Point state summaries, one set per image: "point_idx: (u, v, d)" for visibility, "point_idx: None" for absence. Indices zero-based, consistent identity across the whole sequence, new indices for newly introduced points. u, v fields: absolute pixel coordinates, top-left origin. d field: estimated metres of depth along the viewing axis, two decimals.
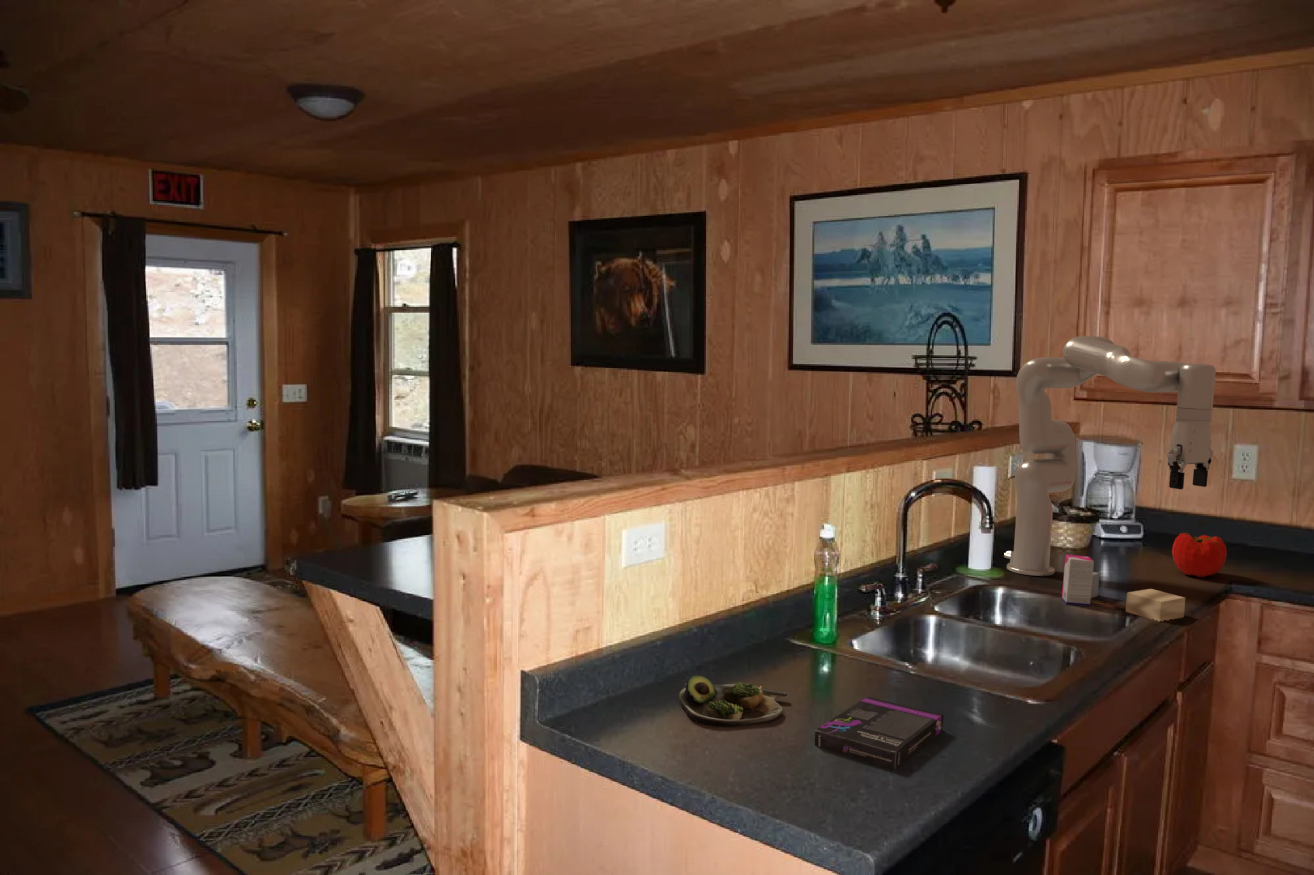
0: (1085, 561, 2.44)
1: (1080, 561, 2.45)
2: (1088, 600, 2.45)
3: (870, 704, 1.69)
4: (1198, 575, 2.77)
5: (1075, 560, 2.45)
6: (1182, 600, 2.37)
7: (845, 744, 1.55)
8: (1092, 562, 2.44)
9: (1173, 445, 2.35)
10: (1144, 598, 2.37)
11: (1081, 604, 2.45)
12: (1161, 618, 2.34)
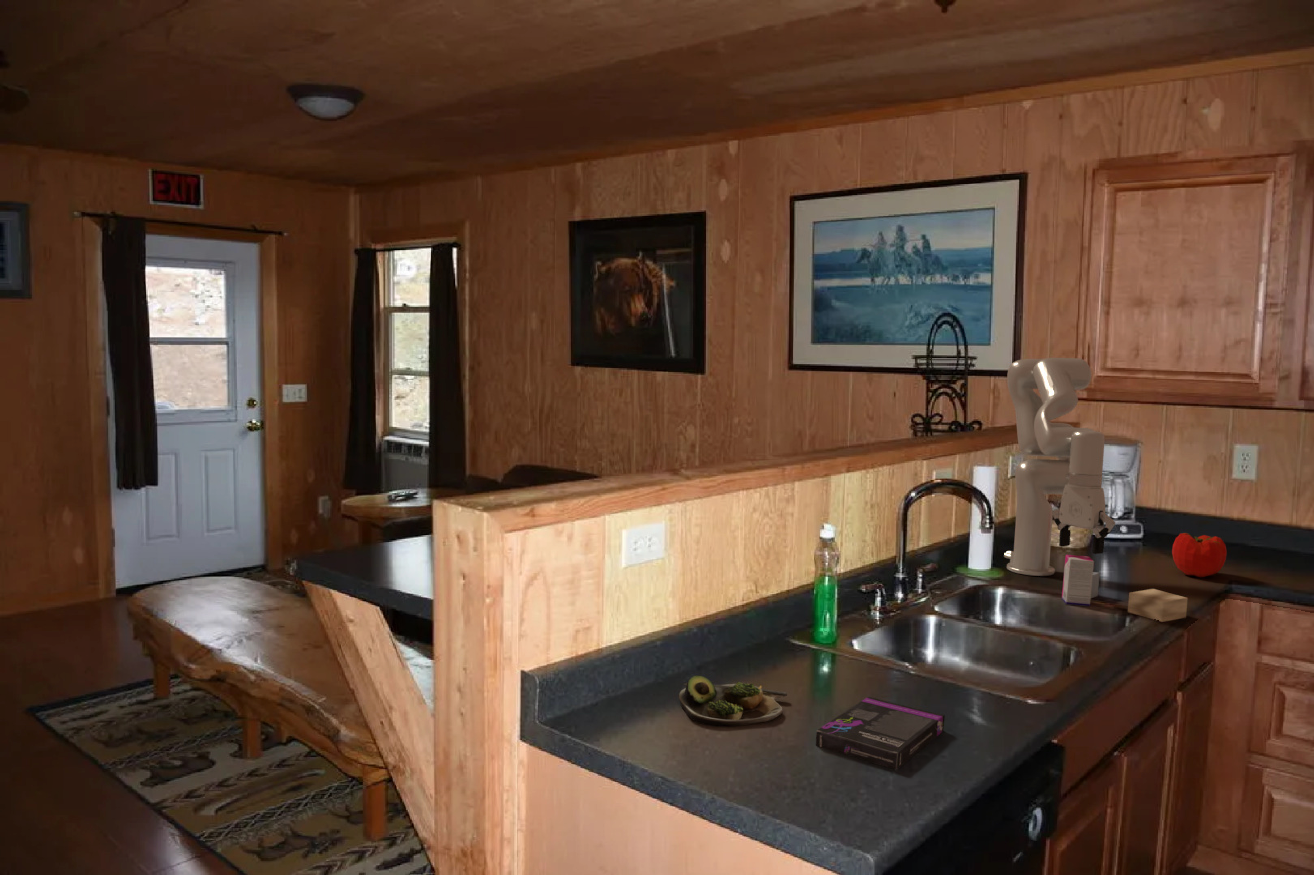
0: (1085, 561, 2.44)
1: (1080, 561, 2.45)
2: (1088, 600, 2.45)
3: (872, 704, 1.69)
4: (1198, 575, 2.77)
5: (1075, 560, 2.45)
6: (1184, 600, 2.37)
7: (846, 745, 1.55)
8: (1092, 562, 2.44)
9: (1097, 512, 2.40)
10: (1146, 598, 2.37)
11: (1081, 604, 2.45)
12: (1163, 618, 2.34)
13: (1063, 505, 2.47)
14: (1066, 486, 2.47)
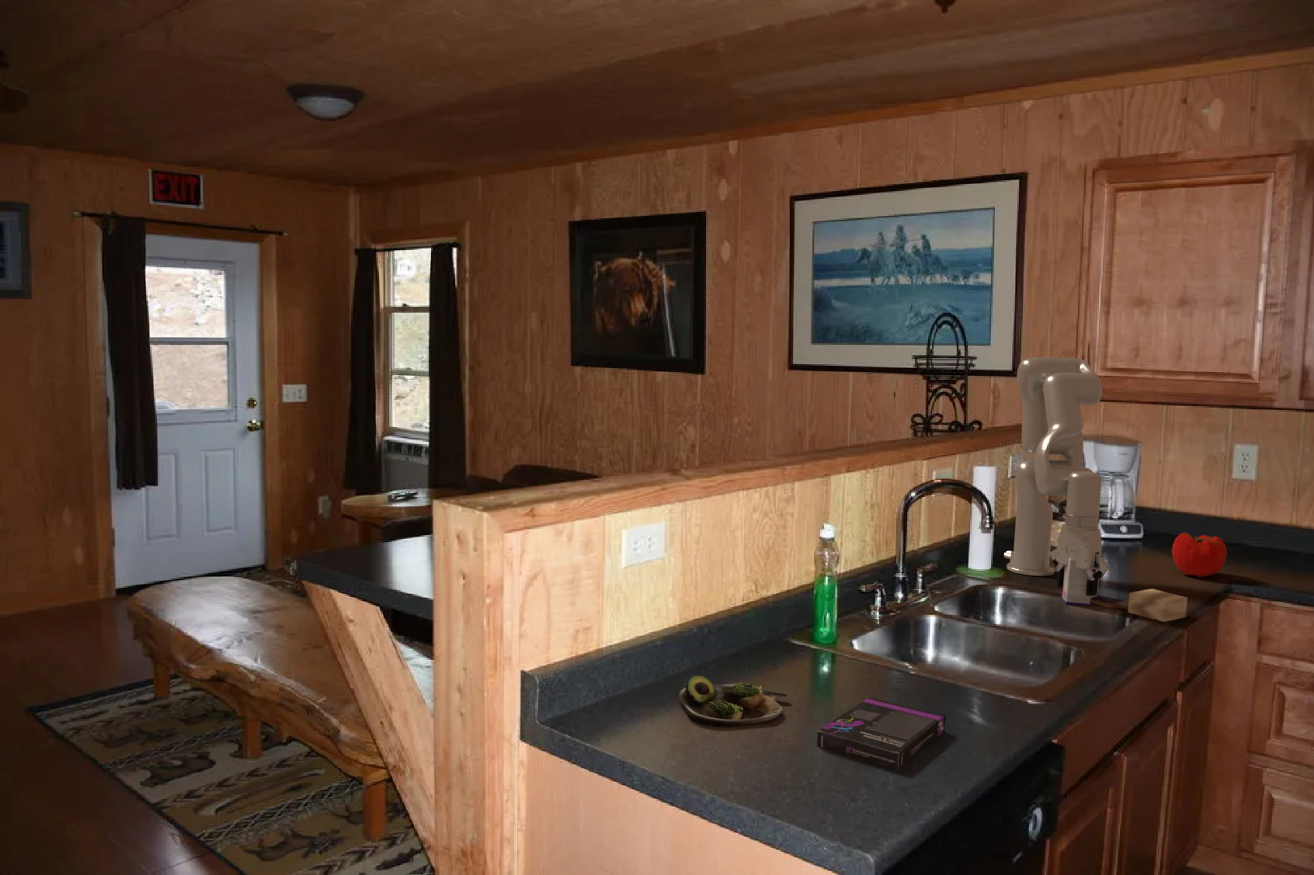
0: None
1: None
2: (1088, 600, 2.45)
3: (872, 705, 1.69)
4: (1198, 575, 2.77)
5: (1075, 560, 2.45)
6: (1184, 599, 2.37)
7: (847, 745, 1.55)
8: None
9: (1093, 554, 2.42)
10: (1147, 598, 2.37)
11: (1081, 604, 2.45)
12: (1165, 618, 2.34)
13: (1060, 545, 2.49)
14: (1063, 526, 2.48)
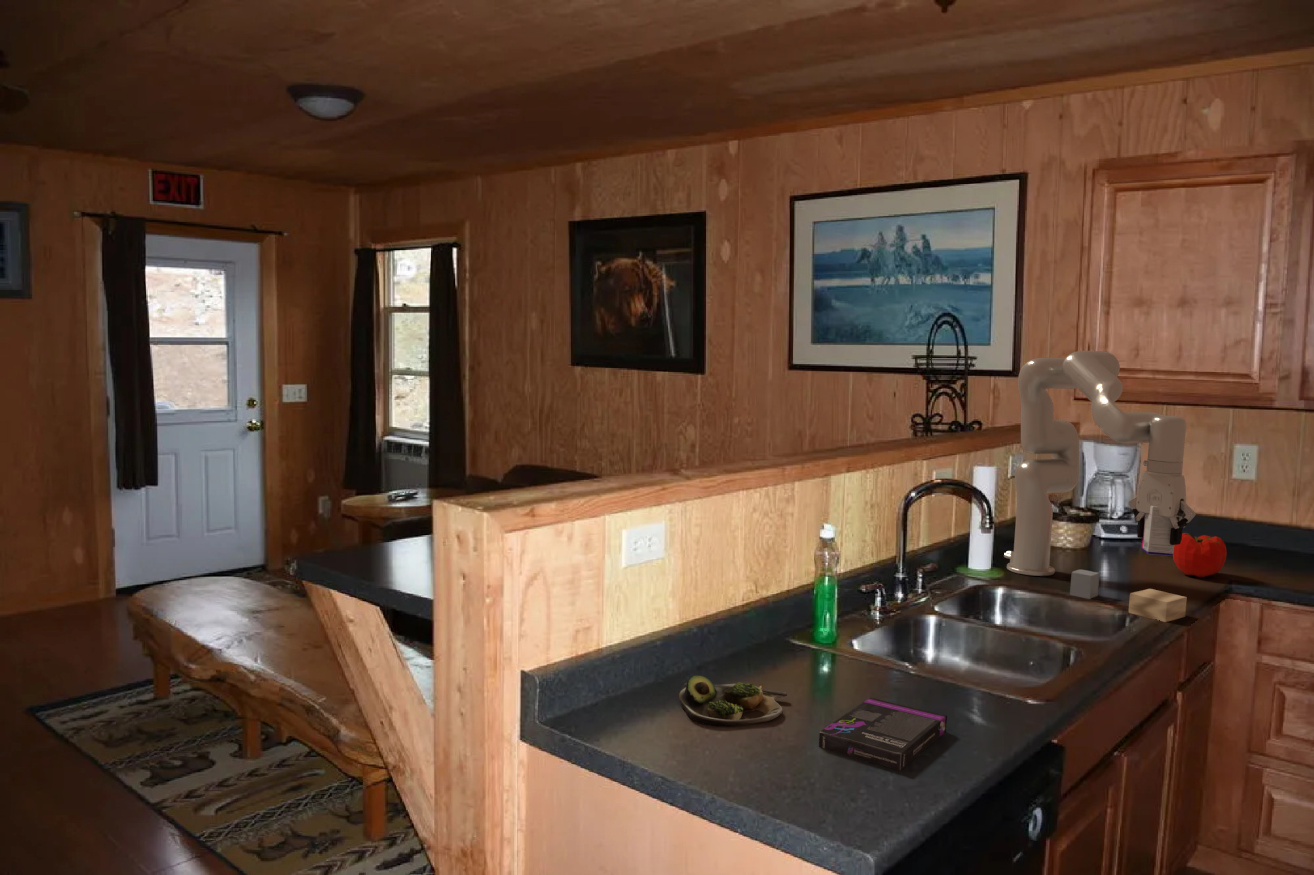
0: None
1: None
2: (1171, 549, 2.35)
3: (874, 705, 1.69)
4: (1198, 575, 2.77)
5: (1158, 508, 2.35)
6: (1184, 599, 2.37)
7: (849, 746, 1.55)
8: None
9: (1178, 501, 2.32)
10: (1148, 599, 2.36)
11: (1164, 554, 2.35)
12: (1166, 618, 2.33)
13: (1140, 493, 2.39)
14: (1144, 473, 2.38)
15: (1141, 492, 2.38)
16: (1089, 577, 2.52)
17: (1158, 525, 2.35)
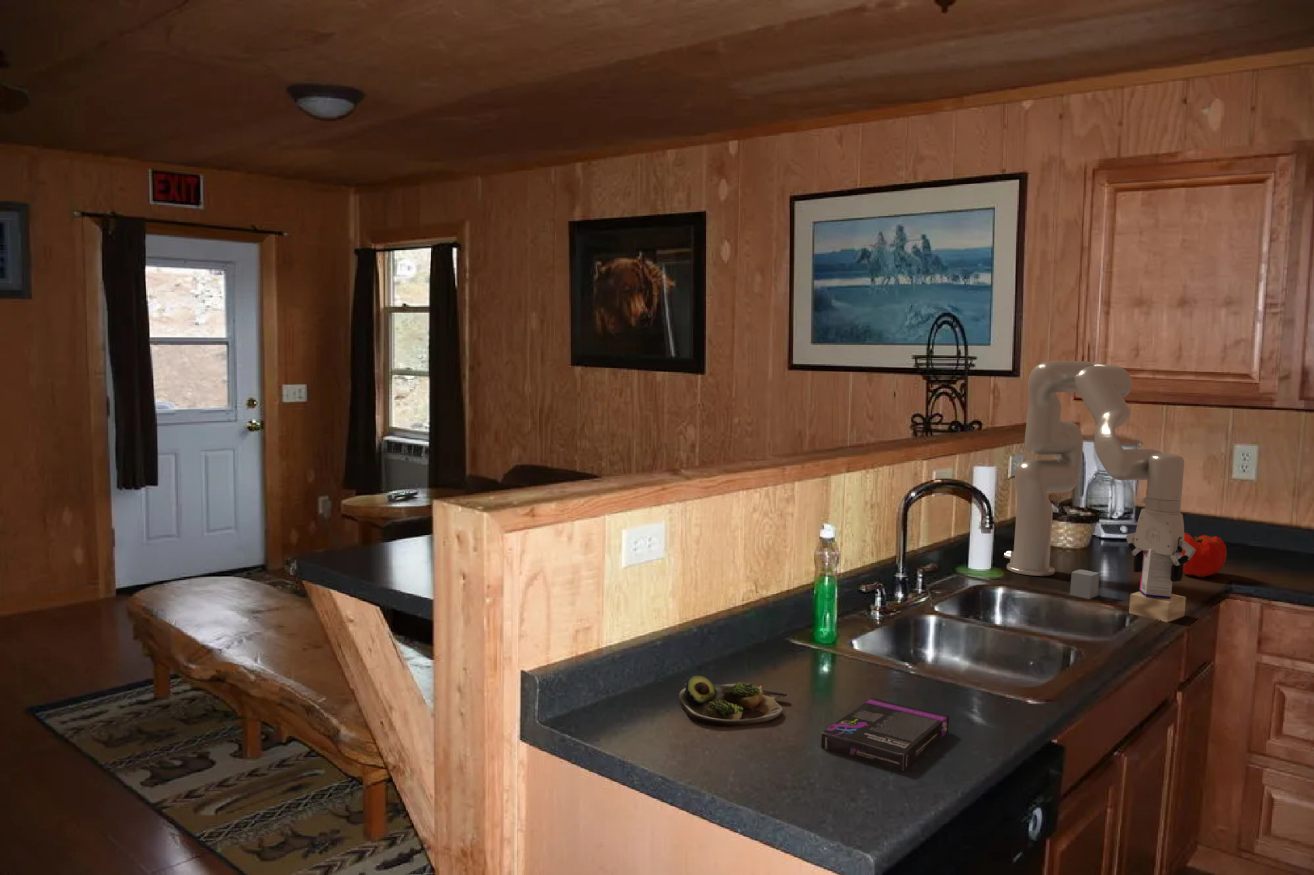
0: None
1: None
2: (1169, 592, 2.36)
3: (876, 706, 1.69)
4: (1198, 575, 2.77)
5: None
6: (1183, 599, 2.38)
7: (852, 746, 1.55)
8: None
9: (1176, 539, 2.32)
10: (1149, 599, 2.36)
11: (1161, 596, 2.36)
12: (1168, 619, 2.33)
13: (1139, 530, 2.39)
14: (1142, 511, 2.39)
15: (1139, 529, 2.39)
16: (1089, 577, 2.52)
17: (1156, 568, 2.36)
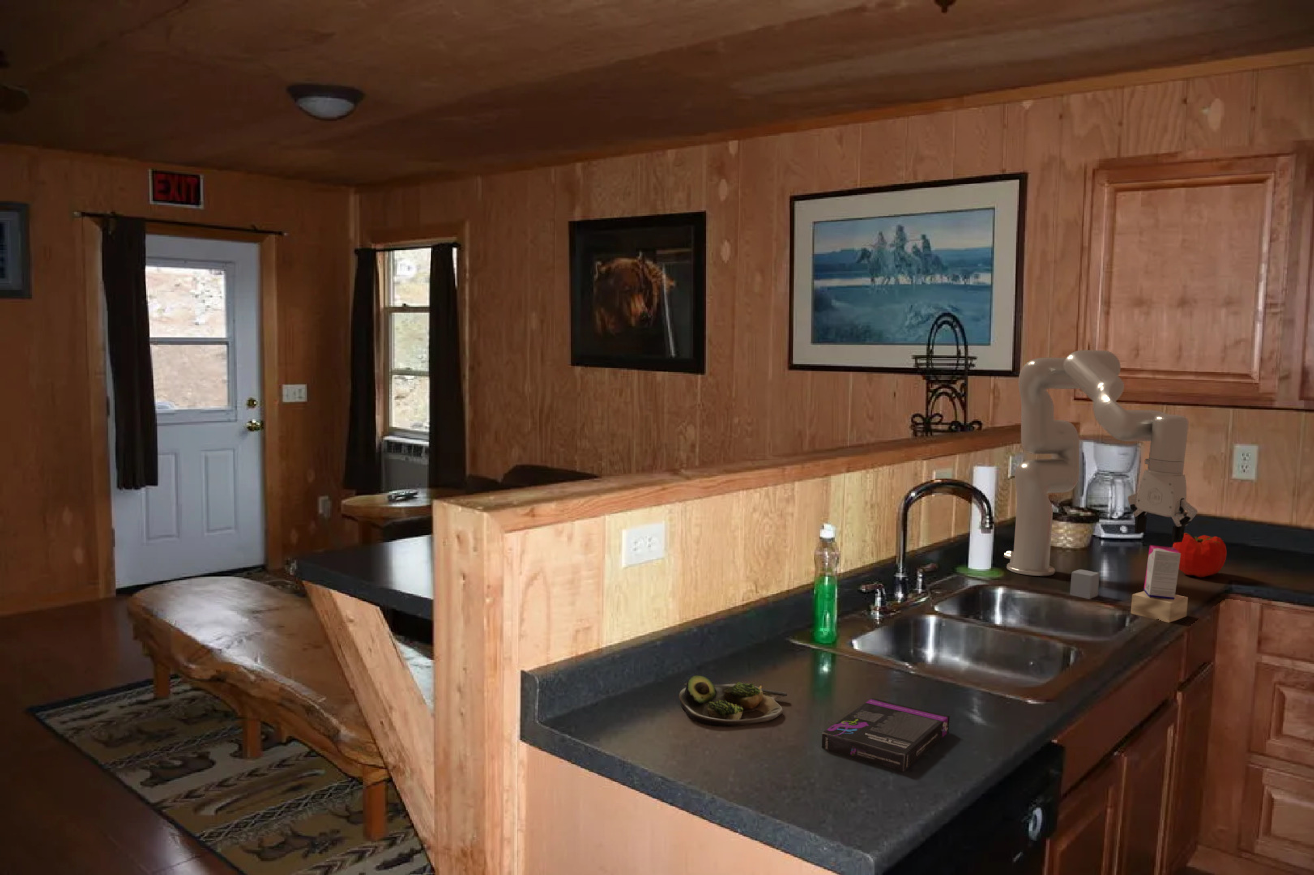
0: (1171, 553, 2.34)
1: (1166, 553, 2.34)
2: (1173, 593, 2.35)
3: (876, 706, 1.69)
4: (1198, 575, 2.77)
5: (1160, 552, 2.35)
6: (1185, 599, 2.37)
7: (852, 747, 1.54)
8: (1179, 554, 2.34)
9: (1178, 500, 2.32)
10: (1151, 600, 2.36)
11: (1165, 597, 2.36)
12: (1170, 619, 2.33)
13: (1141, 491, 2.39)
14: (1145, 472, 2.38)
15: (1142, 490, 2.39)
16: (1089, 577, 2.52)
17: (1160, 569, 2.35)
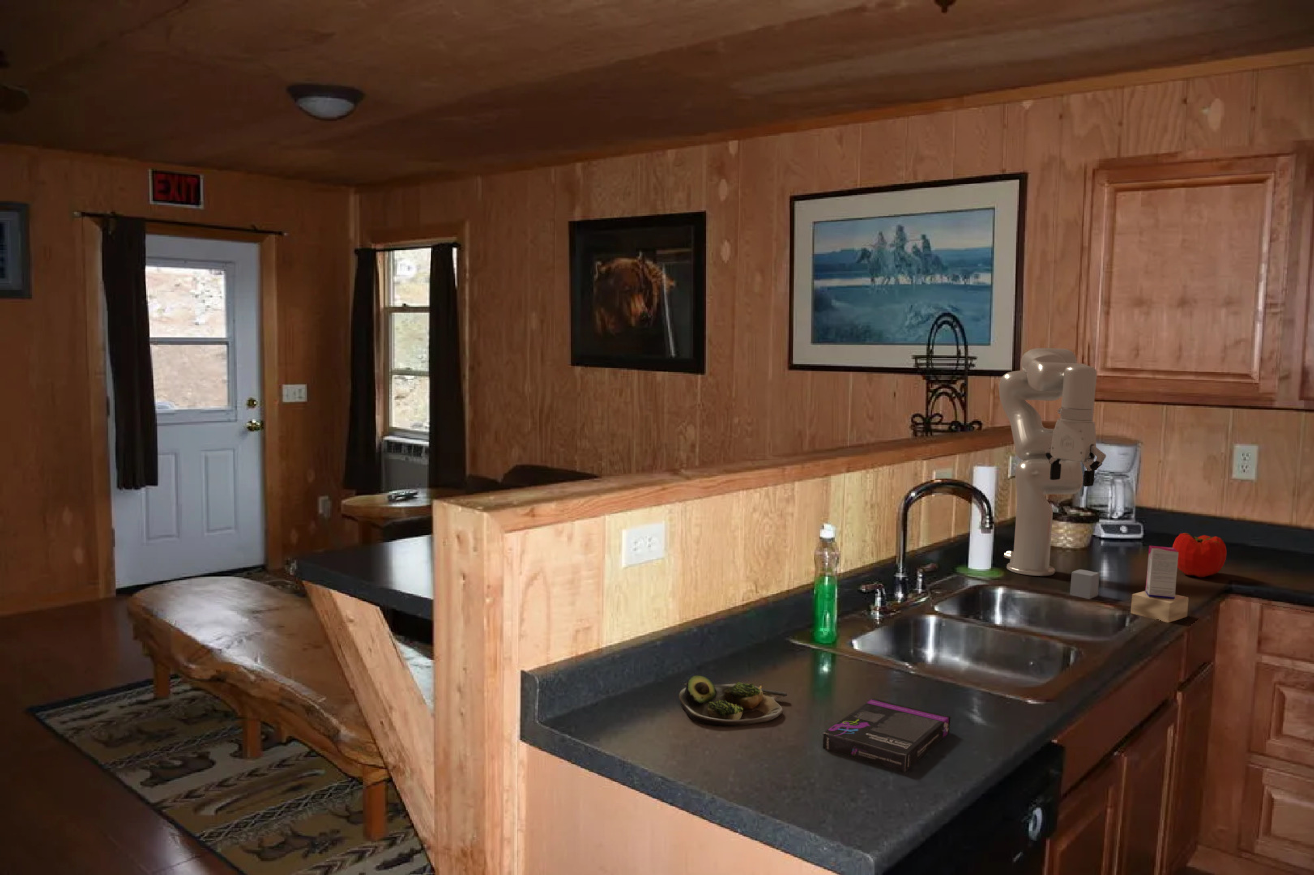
0: (1169, 552, 2.35)
1: (1163, 552, 2.35)
2: (1172, 592, 2.35)
3: (877, 706, 1.69)
4: (1198, 575, 2.77)
5: (1158, 551, 2.36)
6: (1186, 599, 2.37)
7: (854, 747, 1.54)
8: (1176, 553, 2.34)
9: (1088, 446, 2.45)
10: (1151, 599, 2.36)
11: (1165, 597, 2.36)
12: (1169, 619, 2.33)
13: (1055, 439, 2.52)
14: (1058, 420, 2.51)
15: (1055, 438, 2.51)
16: (1089, 577, 2.52)
17: (1159, 568, 2.36)
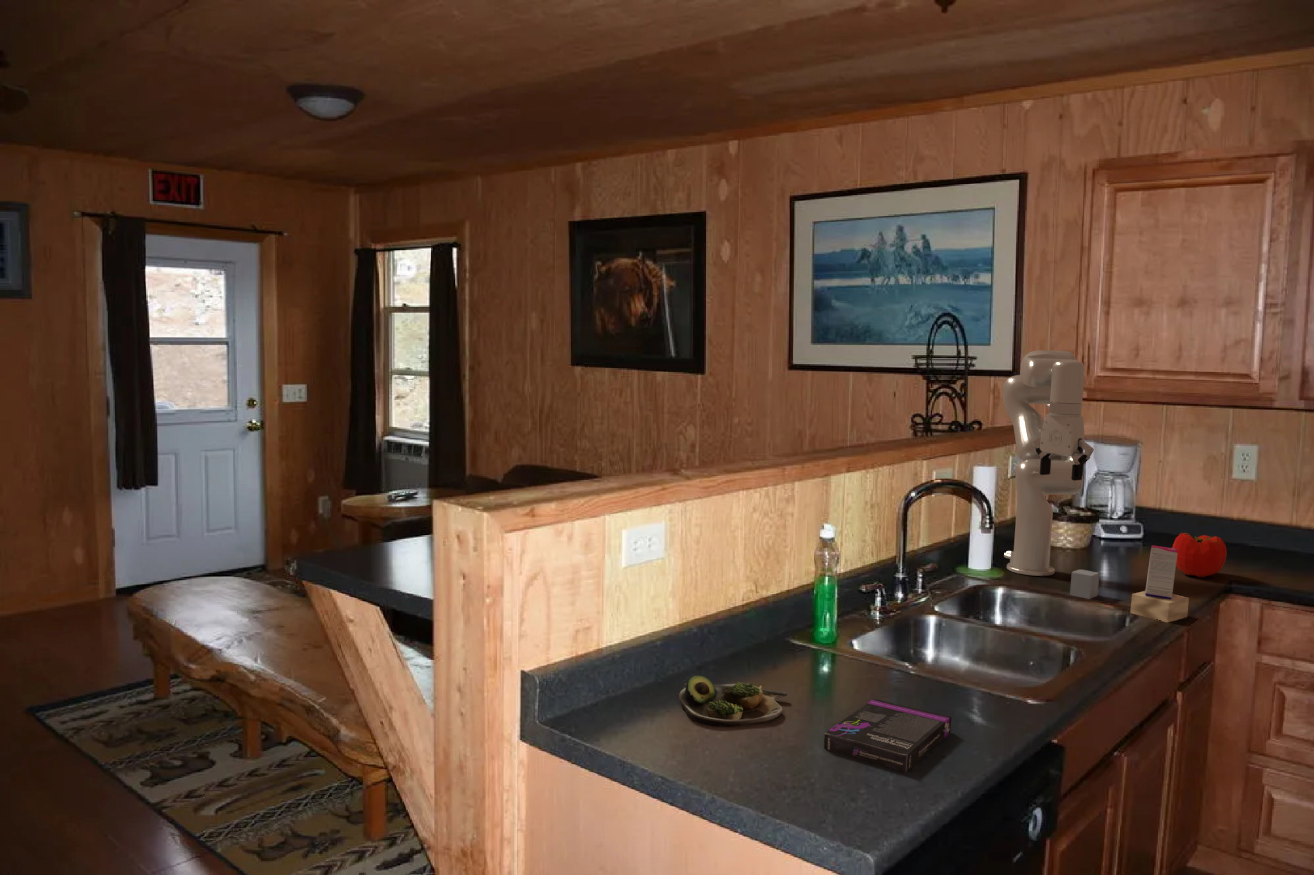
0: (1167, 552, 2.35)
1: (1162, 552, 2.35)
2: (1169, 593, 2.35)
3: (878, 706, 1.68)
4: (1198, 575, 2.77)
5: (1156, 550, 2.36)
6: (1186, 600, 2.37)
7: (855, 747, 1.54)
8: (1175, 554, 2.34)
9: (1076, 440, 2.46)
10: (1150, 599, 2.36)
11: (1162, 597, 2.36)
12: (1168, 619, 2.33)
13: (1044, 434, 2.53)
14: (1047, 415, 2.53)
15: (1044, 433, 2.53)
16: (1089, 577, 2.52)
17: (1156, 568, 2.36)
